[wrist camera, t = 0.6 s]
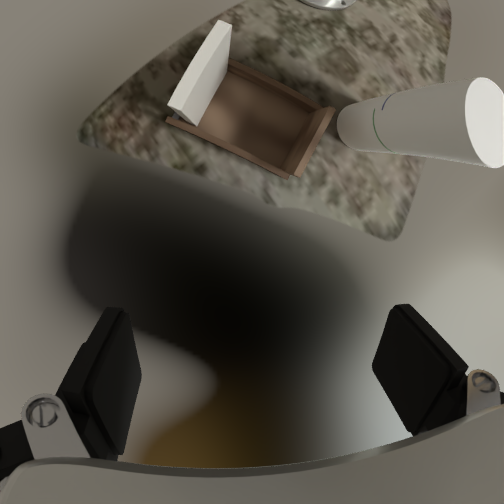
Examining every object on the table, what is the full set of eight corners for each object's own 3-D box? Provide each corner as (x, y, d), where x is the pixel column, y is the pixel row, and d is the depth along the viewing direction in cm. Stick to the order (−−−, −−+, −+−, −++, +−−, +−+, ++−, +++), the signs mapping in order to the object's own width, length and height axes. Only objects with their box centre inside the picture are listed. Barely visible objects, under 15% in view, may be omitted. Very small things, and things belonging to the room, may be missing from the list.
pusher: (218, 68, 33) (218, 19, 18) (227, 72, 33) (231, 25, 18) (188, 123, 35) (167, 104, 20) (196, 126, 35) (180, 110, 20)
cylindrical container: (386, 122, 38) (520, 120, 15) (366, 159, 40) (499, 185, 16) (350, 94, 36) (477, 59, 13) (328, 133, 38) (453, 127, 15)
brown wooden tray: (207, 57, 33) (204, 35, 25) (315, 111, 37) (339, 103, 29) (170, 124, 36) (157, 117, 27) (280, 177, 40) (296, 184, 31)
